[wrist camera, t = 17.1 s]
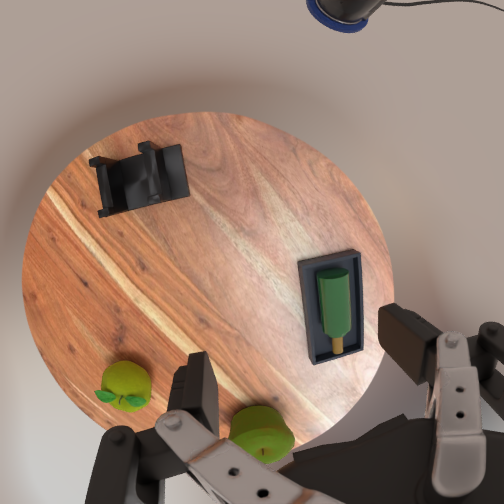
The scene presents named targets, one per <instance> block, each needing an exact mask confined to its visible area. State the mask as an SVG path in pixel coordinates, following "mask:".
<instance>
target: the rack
mask: <svg viewBox="0 0 504 504" xmlns="http://www.w3.org/2000/svg"><path fill="white" fill-rule="evenodd" d="M138 150H139V151H140V152H142V153H143V154H139V155H136V156H132V157H129V158H125V159H122V160H119V161H118V160H113V159H109V158H105V157H101V156H97V157H95V158H92V159H89V166H90V167H95V168H96V172H97V178H98V184H99V190H100V195H101V200H102V205H103V209H101V210H98V215H99V218H102V217H108V216H111V215H115V214H119V213H122V212H126V211H130V210H134V209H138V208H141V207H145V206H149V205H153V204H158V203H162V202H166V201H170V200H174V199H179V198H183V197H188V196H190V192H189V187H188V182H187V176H186V171H185V166H184V160H183V155H182V149H181V145H180V144H178V145H174V146H170V147H166V148H160V147H159V146H157V145H156V144H154V143H153V142H151V141H146V142H142V143H138Z"/></svg>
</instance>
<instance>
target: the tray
mask: <svg viewBox="0 0 504 504" xmlns="http://www.w3.org/2000/svg"><path fill="white" fill-rule="evenodd" d="M336 267H338V268H345V269H347V270H348V271H349V279H350V295H351V317H352V328H351V330H350V331H349V332H347V334H346V335H345V336H343V352H342V353H341V354H334V353H333V352H332V338H331V337H329V336H328V335H327V334H325V333H324V332H323V331H322V326H321V314H320V304H319V294H318V285H317V276H316V275H317V273H318V272H319V271H321V270H324V269H328V268H336ZM298 270H299V277H300V284H301V292H302V300H303V308H304V316H305V324H306V333H307V342H308V352H309V359H310V361H311V362H312V364H313V365H316V364H320V363H324V362H327V361H330V360H334V359H337V358H340V357H343V356H347V355H350V354H353V353H356V352H359V351H362V350H363V347H364V314H363V284H362V266H361V253H360V252H358V251H356V250H354V249H353V250H348V251H344V252H340V253H335V254H331V255H326V256H322V257H317V258H312V259H308V260H303V261H299V262H298Z"/></svg>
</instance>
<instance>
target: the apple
mask: <svg viewBox="0 0 504 504" xmlns="http://www.w3.org/2000/svg"><path fill="white" fill-rule="evenodd" d="M228 439H229V440H231V441H232V442H234V443H235V444H236V445H238V446H239V447H240V448H242V449H243V450H245V451H246V452H248V453H249V454H250V455H252V456H253V457H255V458H256V459H258V460H259V461H261V462H262V463H264V464H269V463H272V462H276V461H279V460H280V459H282V458H283V457H285V456H286V455H287V454H288V453H289V452H290V450H291V449H292V448H293V447H294V442H295V438H294V435H293V432H292V431H291V430H290V429H289V428H288V426H287V425H286V424H285V422H284V420H283V418H282V416H281V415H280V413H279V412H278V411H277V410H275V409H273V408H271V407H267V406H261V405H259V406H250V407H248V408H245V409H243V410H241V411H239V412H238V413H237V414H236V415H234V417H233V419H232V421H231V429H230V434H229V437H228Z"/></svg>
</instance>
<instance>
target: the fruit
mask: <svg viewBox="0 0 504 504" xmlns="http://www.w3.org/2000/svg"><path fill="white" fill-rule="evenodd" d="M101 390H102V391H101ZM101 390H96V391H94V392H95V394H96V396H97V397H98V398H99V399H100V400H101V401H102V402H105V403H108V402H109V403H110V404H111V405H112V406H113V407H114V408H116V409H118V410H123V411H126V412H135V411H138V410H140V409H142V408H143V407H145V406H146V405H148V403H149V402H150V398H151V380H150V377H149V375H148V373H147V372H146V371H145V370H144V369H143V368H142V367H140V366H139V365H137V364H135V363H133V362H131V361H119V362H116V363H114V364H112V365H111V366H109V367H108V368H107V369H106V370H105V371H104V373H103V376H102V383H101Z"/></svg>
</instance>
